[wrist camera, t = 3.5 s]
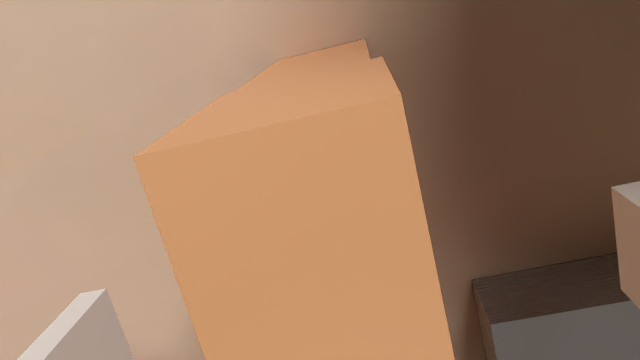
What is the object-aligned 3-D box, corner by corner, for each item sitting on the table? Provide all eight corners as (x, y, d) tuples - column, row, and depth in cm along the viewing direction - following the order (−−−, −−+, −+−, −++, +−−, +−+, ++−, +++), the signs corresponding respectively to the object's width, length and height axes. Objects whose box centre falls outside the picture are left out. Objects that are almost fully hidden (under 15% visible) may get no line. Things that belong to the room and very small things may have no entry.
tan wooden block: (270, 62, 18) (132, 156, 7) (372, 37, 18) (401, 94, 7) (344, 337, 22) (331, 712, 10) (432, 322, 21) (523, 696, 10)
